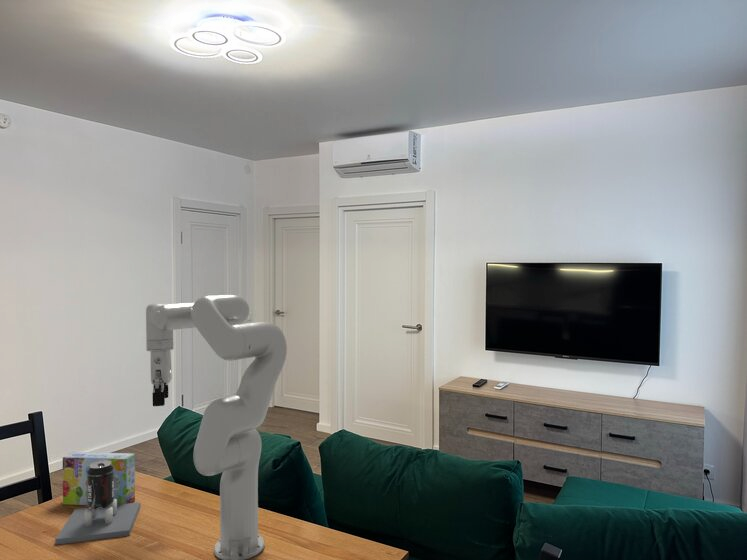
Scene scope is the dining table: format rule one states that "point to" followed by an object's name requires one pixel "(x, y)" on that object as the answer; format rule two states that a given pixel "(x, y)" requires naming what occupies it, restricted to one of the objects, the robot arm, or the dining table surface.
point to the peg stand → (99, 523)
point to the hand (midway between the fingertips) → (160, 401)
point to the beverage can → (100, 484)
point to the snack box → (77, 476)
